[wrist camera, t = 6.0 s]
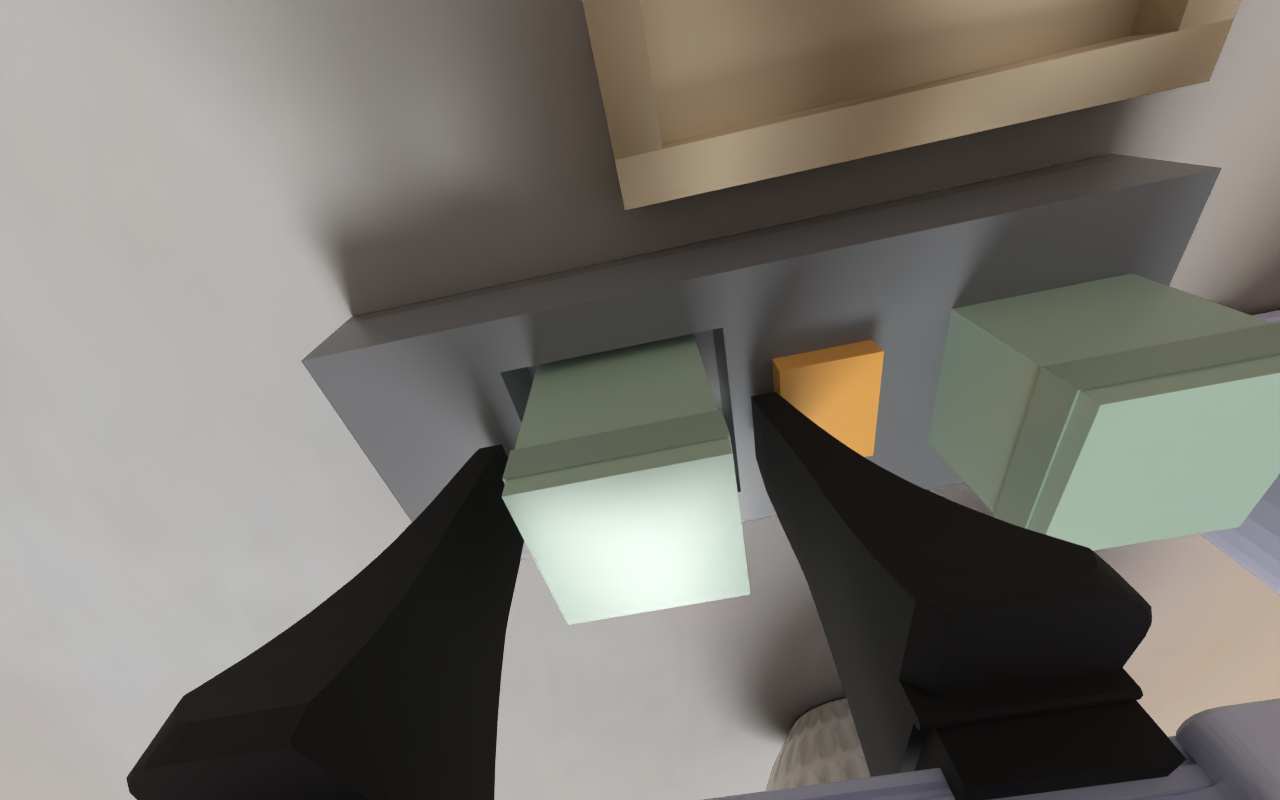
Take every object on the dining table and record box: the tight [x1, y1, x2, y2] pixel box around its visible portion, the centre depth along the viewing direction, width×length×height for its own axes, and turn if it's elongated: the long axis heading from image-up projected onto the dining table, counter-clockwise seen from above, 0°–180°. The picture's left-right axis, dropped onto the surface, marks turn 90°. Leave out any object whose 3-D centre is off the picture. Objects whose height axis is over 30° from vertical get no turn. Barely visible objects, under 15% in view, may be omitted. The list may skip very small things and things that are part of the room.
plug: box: [502, 334, 750, 625], centre depth 12 cm, size 4×4×6 cm
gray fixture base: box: [302, 154, 1280, 560], centre depth 12 cm, size 20×8×6 cm, turn 101°
